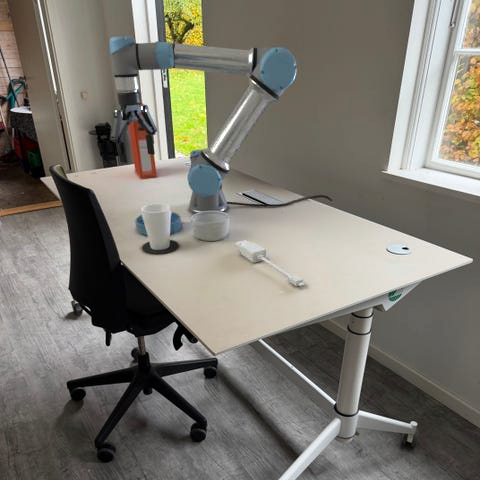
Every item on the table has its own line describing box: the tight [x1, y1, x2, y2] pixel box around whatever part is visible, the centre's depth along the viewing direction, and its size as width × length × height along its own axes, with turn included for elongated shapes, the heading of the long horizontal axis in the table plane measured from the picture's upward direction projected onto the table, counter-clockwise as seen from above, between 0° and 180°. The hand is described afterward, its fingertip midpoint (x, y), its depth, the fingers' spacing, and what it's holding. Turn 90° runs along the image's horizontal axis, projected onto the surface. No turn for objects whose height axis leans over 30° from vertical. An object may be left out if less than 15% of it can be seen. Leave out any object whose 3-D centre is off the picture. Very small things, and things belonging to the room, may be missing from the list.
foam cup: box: [140, 202, 172, 250], centre depth 153 cm, size 10×9×13 cm
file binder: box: [128, 102, 158, 180], centre depth 229 cm, size 8×17×32 cm, turn 20°
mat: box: [141, 239, 179, 255], centre depth 156 cm, size 12×12×1 cm
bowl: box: [134, 211, 182, 236], centre depth 170 cm, size 16×16×4 cm
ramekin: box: [190, 211, 230, 242], centre depth 162 cm, size 13×13×7 cm
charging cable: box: [234, 239, 306, 287], centre depth 141 cm, size 5×32×3 cm, turn 32°
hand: (138, 158), depth 165 cm, fingers open, 13 cm apart
